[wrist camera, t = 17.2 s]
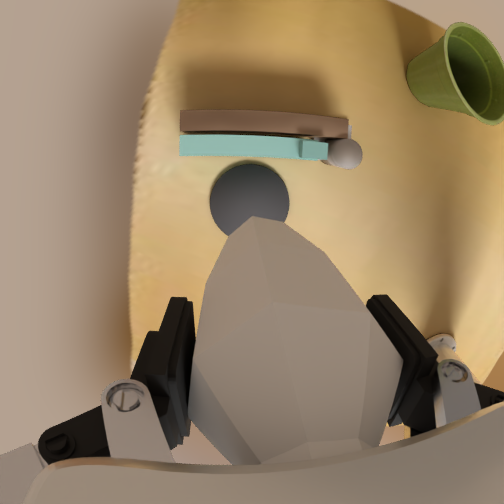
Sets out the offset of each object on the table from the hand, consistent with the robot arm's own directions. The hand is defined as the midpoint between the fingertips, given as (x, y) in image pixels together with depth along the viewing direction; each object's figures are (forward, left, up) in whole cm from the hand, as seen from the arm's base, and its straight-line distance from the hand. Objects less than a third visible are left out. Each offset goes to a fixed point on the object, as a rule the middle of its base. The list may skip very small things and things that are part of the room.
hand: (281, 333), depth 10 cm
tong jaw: (+7, 0, -23) cm, 24 cm away
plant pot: (+18, -23, -25) cm, 38 cm away
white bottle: (0, 0, -8) cm, 8 cm away
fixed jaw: (+7, -2, -24) cm, 25 cm away
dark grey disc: (0, 0, -24) cm, 24 cm away
